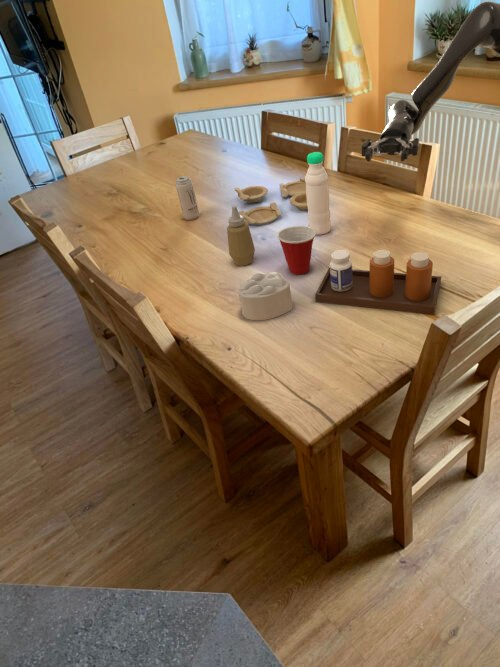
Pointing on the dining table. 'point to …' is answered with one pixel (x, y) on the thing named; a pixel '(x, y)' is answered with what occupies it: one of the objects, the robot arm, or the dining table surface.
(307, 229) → the plastic cup
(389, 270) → the amber bottle
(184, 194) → the energy drink can
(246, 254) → the squeeze bottle
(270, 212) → the tableware set
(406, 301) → the tray
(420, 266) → the amber bottle
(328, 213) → the water bottle
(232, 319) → the dining table surface
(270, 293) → the lumpy-topped squat cylinder
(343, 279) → the pill bottle
